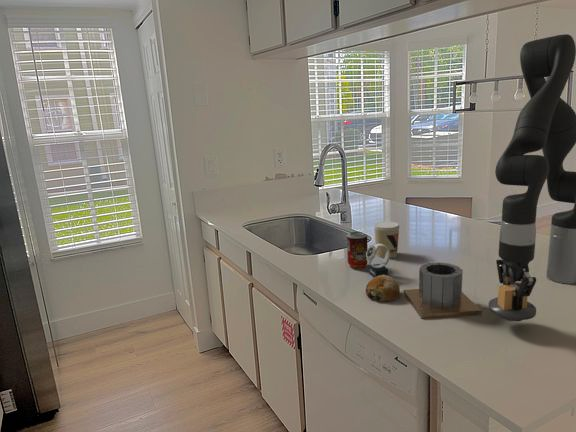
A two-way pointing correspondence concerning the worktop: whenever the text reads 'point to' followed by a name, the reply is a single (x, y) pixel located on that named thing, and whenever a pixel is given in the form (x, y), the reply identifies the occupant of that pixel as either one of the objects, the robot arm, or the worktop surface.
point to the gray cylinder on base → (440, 292)
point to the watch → (377, 268)
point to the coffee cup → (386, 238)
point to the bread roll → (383, 288)
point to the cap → (510, 306)
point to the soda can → (357, 250)
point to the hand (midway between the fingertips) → (512, 305)
